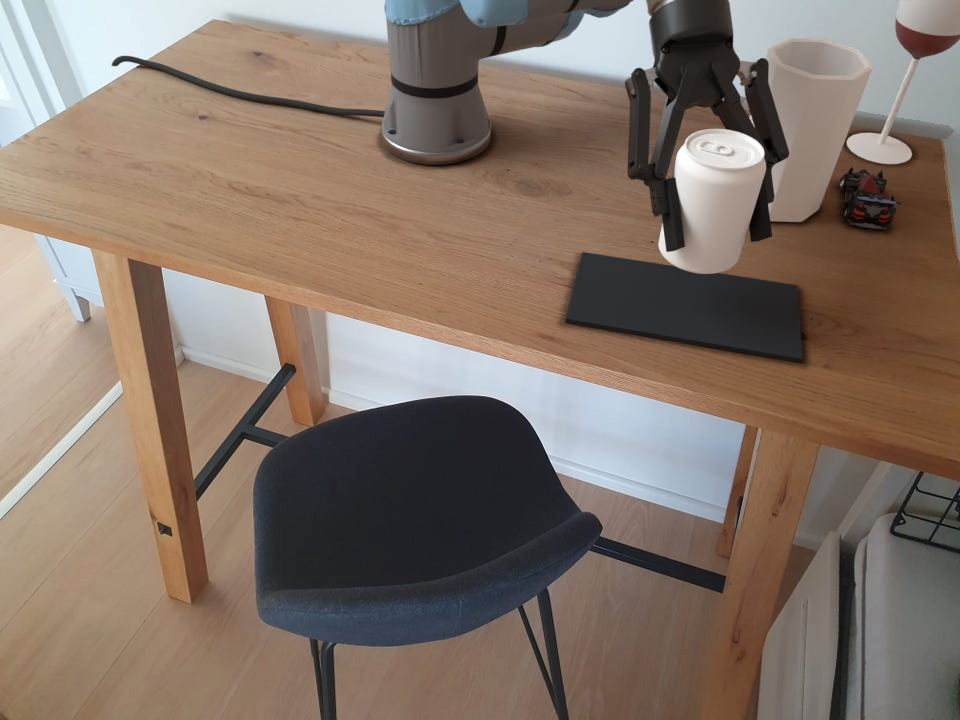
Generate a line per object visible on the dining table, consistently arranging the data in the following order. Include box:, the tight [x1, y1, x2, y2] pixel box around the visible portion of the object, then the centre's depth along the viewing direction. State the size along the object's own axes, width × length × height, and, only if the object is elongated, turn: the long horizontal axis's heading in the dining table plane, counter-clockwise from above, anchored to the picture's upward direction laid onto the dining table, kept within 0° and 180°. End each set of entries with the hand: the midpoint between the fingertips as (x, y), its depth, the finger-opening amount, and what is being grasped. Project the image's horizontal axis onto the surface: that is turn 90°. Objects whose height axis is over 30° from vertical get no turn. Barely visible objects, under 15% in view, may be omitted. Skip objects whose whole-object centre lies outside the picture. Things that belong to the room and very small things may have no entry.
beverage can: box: [658, 128, 766, 274], centre depth 74 cm, size 8×8×12 cm
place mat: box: [564, 251, 804, 364], centre depth 83 cm, size 24×12×1 cm, turn 76°
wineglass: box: [846, 0, 960, 165], centre depth 99 cm, size 9×10×23 cm
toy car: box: [839, 165, 902, 231], centre depth 96 cm, size 6×12×4 cm, turn 166°
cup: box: [748, 37, 873, 223], centre depth 91 cm, size 11×11×18 cm
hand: (718, 244), depth 73 cm, fingers closed on beverage can, 8 cm apart
